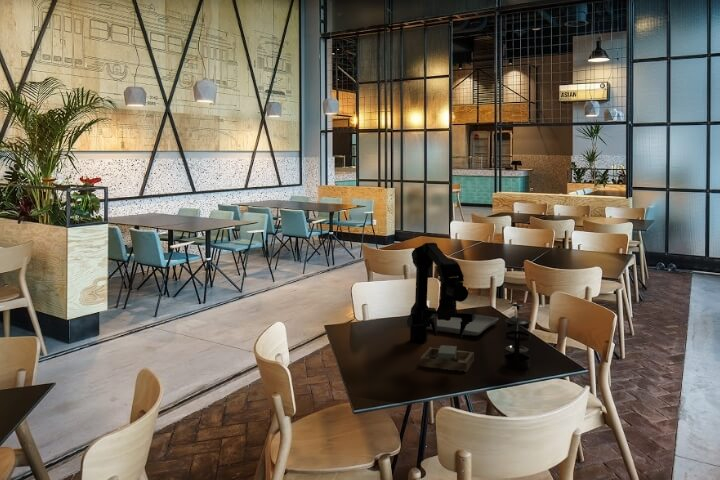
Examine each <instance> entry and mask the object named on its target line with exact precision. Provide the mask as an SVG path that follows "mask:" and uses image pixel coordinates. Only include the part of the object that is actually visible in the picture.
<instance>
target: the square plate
mask: <svg viewBox="0 0 720 480" xmlns="http://www.w3.org/2000/svg"><path fill="white" fill-rule="evenodd" d="M499 319H500V318H499V317H494V316H488V315H487V316H486V315H480V314H475V319H474V320H473V322H470V323H469V324H467V325H466V327H465V330H464V332H463V335H462V336H477V337H478V336H479V335H481V333H483V332H484V331H486V329H488V328H489V327H491V326H492V325H494V324H495V323H497V322H498V320H499ZM461 321H462V320H461V318H454V317H451V319H450V320H449V321H446V320H438V319H437V332H440V333H441V332H442V333H450V334H454V333H455V335H460V327H461V324H460V322H461ZM427 330H431V331H433V329H432V326H431V324H430V327H427Z"/></svg>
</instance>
